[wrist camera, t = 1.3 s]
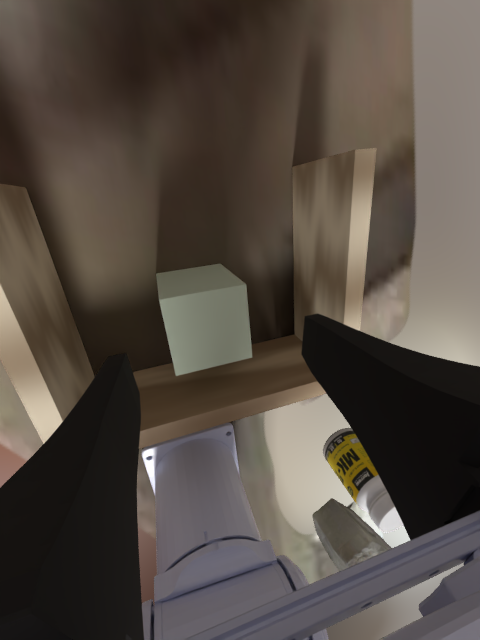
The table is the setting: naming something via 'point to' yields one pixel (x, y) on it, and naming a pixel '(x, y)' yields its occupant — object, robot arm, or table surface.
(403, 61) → the table surface
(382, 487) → the supplement bottle
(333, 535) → the mineral specimen
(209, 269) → the sage block
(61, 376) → the open box
